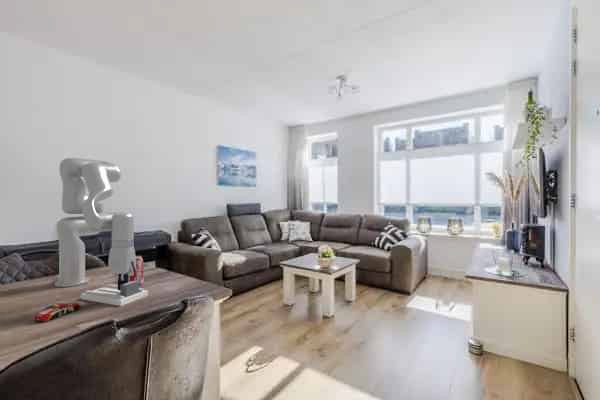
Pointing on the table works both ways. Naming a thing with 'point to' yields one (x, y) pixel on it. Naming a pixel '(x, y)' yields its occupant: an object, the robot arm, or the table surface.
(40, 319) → the race car
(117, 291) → the fader console
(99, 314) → the table surface
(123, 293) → the fader tab
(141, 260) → the soda can
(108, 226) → the robot arm
